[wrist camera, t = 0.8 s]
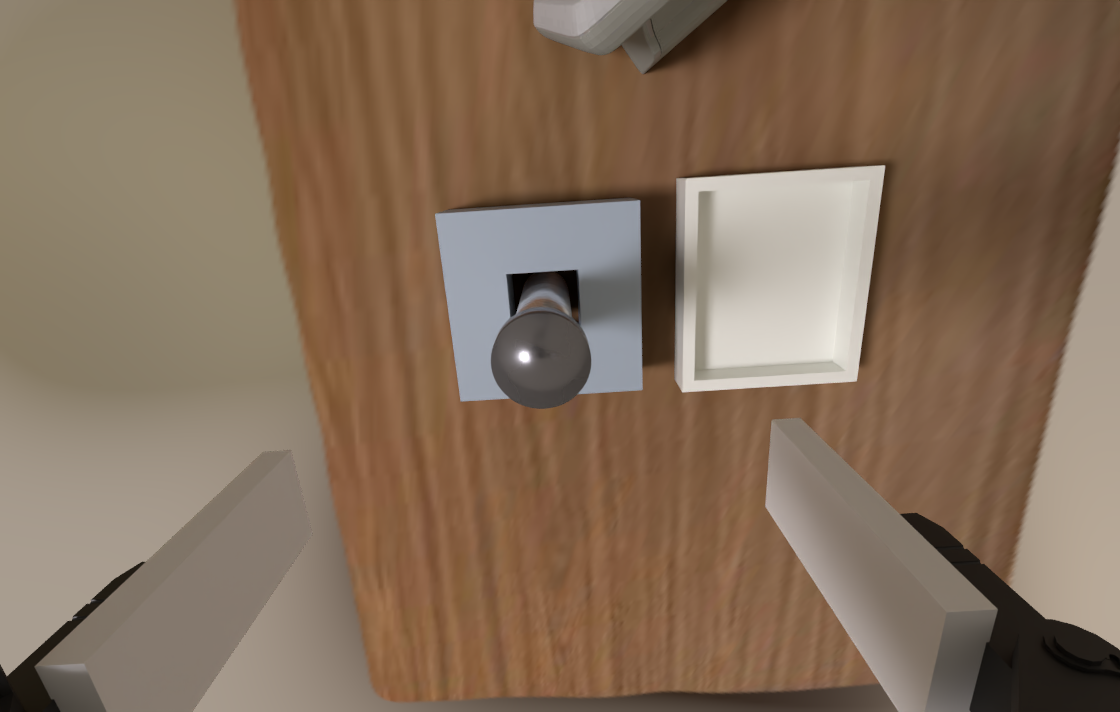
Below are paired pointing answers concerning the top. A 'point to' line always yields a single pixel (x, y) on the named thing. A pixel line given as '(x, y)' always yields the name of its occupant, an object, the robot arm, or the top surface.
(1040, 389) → the top surface
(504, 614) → the top surface
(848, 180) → the tray
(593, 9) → the digital clock
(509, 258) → the socket block
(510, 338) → the pin
